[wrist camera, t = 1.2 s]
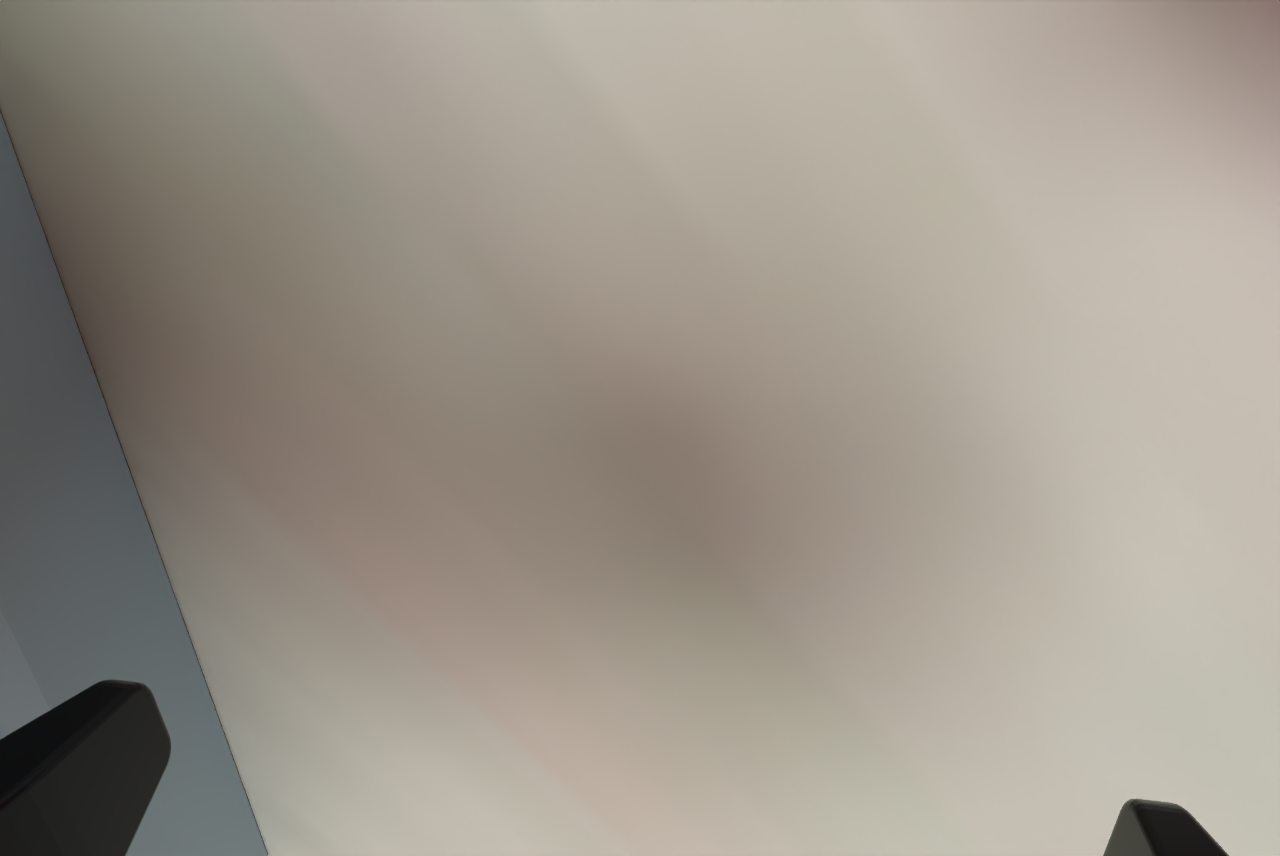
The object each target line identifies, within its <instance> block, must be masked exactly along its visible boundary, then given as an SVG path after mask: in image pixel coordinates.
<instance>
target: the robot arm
mask: <svg viewBox="0 0 1280 856" xmlns="http://www.w3.org/2000/svg"><path fill="white" fill-rule="evenodd" d="M170 755H171V738H170V735H169V732H168V730H167V727H166V725H165V722H164V720H163V717H162V715H161V712H160V710H159V707H158V705H157V702H156V700H155V697H154V695H153V693H152V691H151V689H150V688H149V687H148V686H147V685H145V684H143V683H140V682H132V681H124V680H115V679H108V680H103V681H100V682H98V683H96V684H94V685H92V686H90V687H88V688H87V689H85V690H83V691H82V692H80V693H78V694H77V695H75V696H73V697H71V698H70V699H68V700H66V701H65V702H63V703H61V704H60V705H58V706H56V707H54V708H53V709H51V710H49V711H48V712H46V713H44V714H42V715H41V716H39V717H37V718H36V719H34V720H32V721H31V722H29V723H27V724H25V725H24V726H22V727H20V728H19V729H17V730H15V731H14V732H12V733H10V734H8V735H7V736H5V737H3V738H2V739H0V856H126V854H127V852H128V850H129V848H130V846H131V844H132V841H133V839H134V837H135V835H136V833H137V831H138V828H139V826H140V824H141V822H142V820H143V818H144V815H145V813H146V811H147V809H148V807H149V805H150V802H151V800H152V798H153V796H154V794H155V792H156V789H157V787H158V785H159V783H160V781H161V779H162V776H163V774H164V772H165V770H166V768H167V765H168V762H169V759H170ZM1103 856H1229V855H1228V854H1227V853H1226V852H1225V851H1224V850H1223V849H1222V847H1221V846H1220V845H1219V844H1218V843H1217V842H1216V841H1215V840H1214V839H1213V838H1212V837H1211V835H1210V834H1209V833H1208V832H1207V831H1206V830H1205V829H1204V828H1203V827H1202V826H1201V825H1200V824H1199V822H1198V821H1197V820H1196V819H1195V818H1194V817H1193V816H1192V815H1191V814H1190V813H1189V812H1188V811H1187V810H1185V809H1184V808H1182V807H1181V806H1179V805H1177V804H1173V803H1168V802H1159V801H1151V800H1142V799H1130V800H1129V801H1127V802H1126V803H1125V804H1124V805H1123V807H1122V809H1121V811H1120V813H1119V816H1118V819H1117V821H1116V824H1115V826H1114V829H1113V832H1112V834H1111V837H1110V839H1109V842H1108V845H1107V847H1106V850H1105V852H1104V855H1103Z"/></svg>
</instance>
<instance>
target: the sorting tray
mask: <svg viewBox="0 0 1280 856" xmlns="http://www.w3.org/2000/svg"><path fill="white" fill-rule="evenodd" d="M108 679H115V680H124V681H132V682H140V683H143V684H145V685H147V686H148V687H149V688H150V689H151V691H152V693H153V695H154V697H155V700H156V702H157V705H158V707H159V710H160V712H161V715H162V717H163V720H164V722H165V725H166V727H167V730H168V732H169V735H170V738H171V755H170V759H169V762H168V765H167V768H166V770H165V772H164V774H163V776H162V779H161V781H160V783H159V785H158V787H157V789H156V792H155V794H154V796H153V798H152V800H151V802H150V805H149V807H148V809H147V811H146V813H145V815H144V818H143V820H142V822H141V824H140V826H139V828H138V831H137V833H136V835H135V837H134V839H133V841H132V844H131V846H130V848H129V850H128V852H127V854H126V856H268V854H267V851H266V849H265V846H264V843H263V840H262V838H261V835H260V832H259V829H258V826H257V824H256V821H255V818H254V815H253V813H252V810H251V807H250V804H249V801H248V799H247V796H246V793H245V790H244V788H243V785H242V782H241V779H240V776H239V774H238V771H237V768H236V765H235V763H234V760H233V757H232V754H231V751H230V749H229V746H228V743H227V740H226V738H225V735H224V732H223V729H222V726H221V724H220V721H219V718H218V715H217V713H216V710H215V707H214V704H213V701H212V699H211V696H210V693H209V690H208V688H207V685H206V682H205V679H204V676H203V674H202V671H201V668H200V665H199V663H198V660H197V657H196V654H195V651H194V649H193V646H192V643H191V640H190V638H189V635H188V632H187V629H186V626H185V624H184V621H183V618H182V615H181V613H180V610H179V607H178V604H177V601H176V599H175V596H174V593H173V590H172V588H171V585H170V582H169V579H168V576H167V574H166V571H165V568H164V565H163V563H162V560H161V557H160V554H159V551H158V549H157V546H156V543H155V540H154V538H153V535H152V532H151V529H150V526H149V524H148V521H147V518H146V515H145V513H144V510H143V507H142V504H141V501H140V499H139V496H138V493H137V490H136V488H135V485H134V482H133V479H132V476H131V474H130V471H129V468H128V465H127V463H126V460H125V457H124V454H123V451H122V449H121V446H120V443H119V440H118V438H117V435H116V432H115V429H114V426H113V424H112V421H111V418H110V415H109V413H108V410H107V407H106V404H105V401H104V399H103V396H102V393H101V390H100V388H99V385H98V382H97V379H96V376H95V374H94V371H93V368H92V365H91V363H90V360H89V357H88V354H87V351H86V349H85V346H84V343H83V340H82V338H81V335H80V332H79V329H78V326H77V324H76V321H75V318H74V315H73V313H72V310H71V307H70V304H69V301H68V299H67V296H66V293H65V290H64V288H63V285H62V282H61V279H60V276H59V274H58V271H57V268H56V265H55V263H54V260H53V257H52V254H51V251H50V249H49V246H48V243H47V240H46V238H45V235H44V232H43V229H42V226H41V224H40V221H39V218H38V215H37V213H36V210H35V207H34V204H33V201H32V199H31V196H30V193H29V190H28V188H27V185H26V182H25V179H24V176H23V174H22V171H21V168H20V165H19V163H18V160H17V157H16V154H15V151H14V149H13V146H12V143H11V140H10V138H9V135H8V132H7V129H6V126H5V124H4V121H3V118H2V115H1V113H0V739H2V738H3V737H5V736H7V735H8V734H10V733H12V732H14V731H15V730H17V729H19V728H20V727H22V726H24V725H25V724H27V723H29V722H31V721H32V720H34V719H36V718H37V717H39V716H41V715H42V714H44V713H46V712H48V711H49V710H51V709H53V708H54V707H56V706H58V705H60V704H61V703H63V702H65V701H66V700H68V699H70V698H71V697H73V696H75V695H77V694H78V693H80V692H82V691H83V690H85V689H87V688H88V687H90V686H92V685H94V684H96V683H98V682H100V681H103V680H108Z"/></svg>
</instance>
